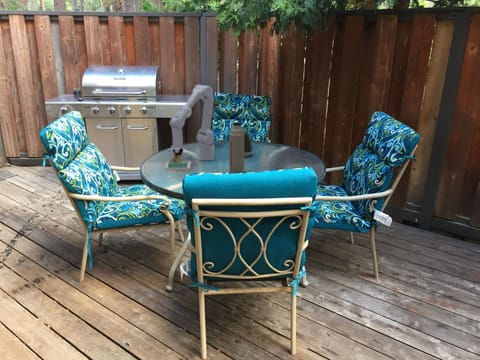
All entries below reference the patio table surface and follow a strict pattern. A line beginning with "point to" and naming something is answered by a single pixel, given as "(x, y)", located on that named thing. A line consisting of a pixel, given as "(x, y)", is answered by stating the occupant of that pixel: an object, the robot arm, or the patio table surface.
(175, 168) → the dock
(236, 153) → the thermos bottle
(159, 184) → the patio table surface
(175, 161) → the cardboard box
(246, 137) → the pump dispenser
